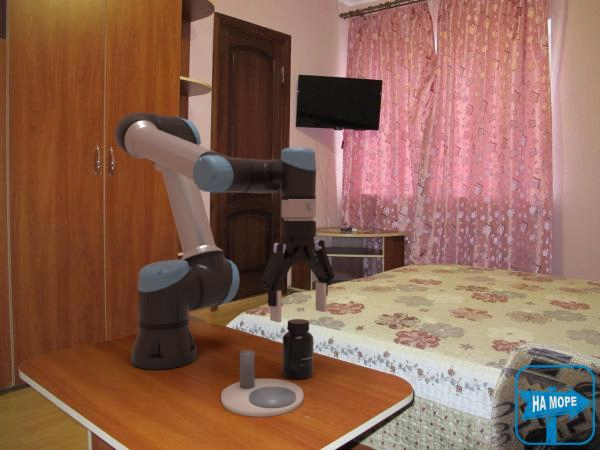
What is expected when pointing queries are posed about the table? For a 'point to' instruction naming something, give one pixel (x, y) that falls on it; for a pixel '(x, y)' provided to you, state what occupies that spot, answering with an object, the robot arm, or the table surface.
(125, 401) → the table surface
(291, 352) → the supplement bottle
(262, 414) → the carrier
